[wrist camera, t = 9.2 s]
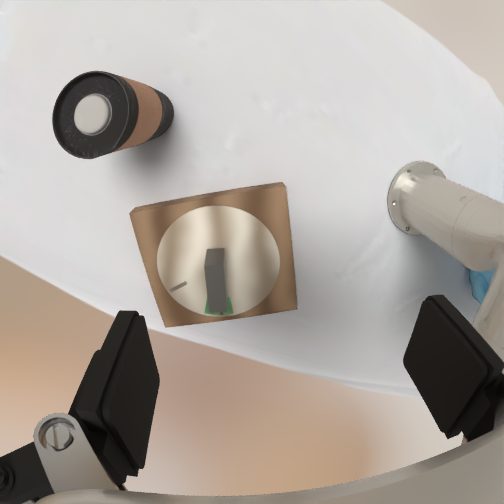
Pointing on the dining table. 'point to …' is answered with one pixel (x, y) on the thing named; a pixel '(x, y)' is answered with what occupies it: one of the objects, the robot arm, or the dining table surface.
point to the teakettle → (480, 283)
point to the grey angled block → (216, 280)
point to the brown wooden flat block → (219, 236)
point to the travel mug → (108, 114)
